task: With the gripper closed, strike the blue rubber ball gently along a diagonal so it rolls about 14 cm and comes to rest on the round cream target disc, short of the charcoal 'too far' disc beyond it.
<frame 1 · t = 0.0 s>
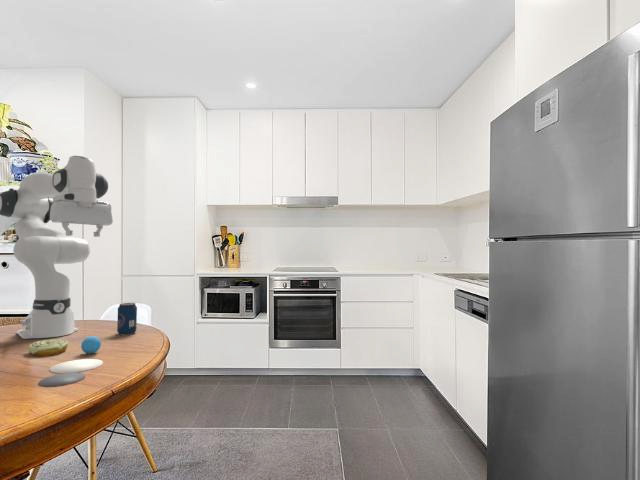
hand: (83, 236, 137), 39 cm above the table, tool pointing down, fingers open, 8 cm apart
soda can: (126, 334, 152), on the table
decorated donut: (48, 353, 123), on the table
target disc: (77, 366, 109), on the table
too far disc: (62, 379, 97), on the table
ball: (91, 345, 122), on the table
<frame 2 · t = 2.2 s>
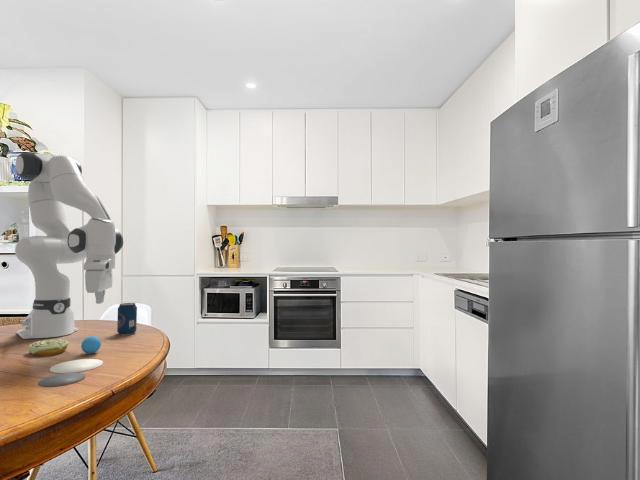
hand: (99, 303, 132), 15 cm above the table, tool pointing down, fingers closed
nothing on the table moved.
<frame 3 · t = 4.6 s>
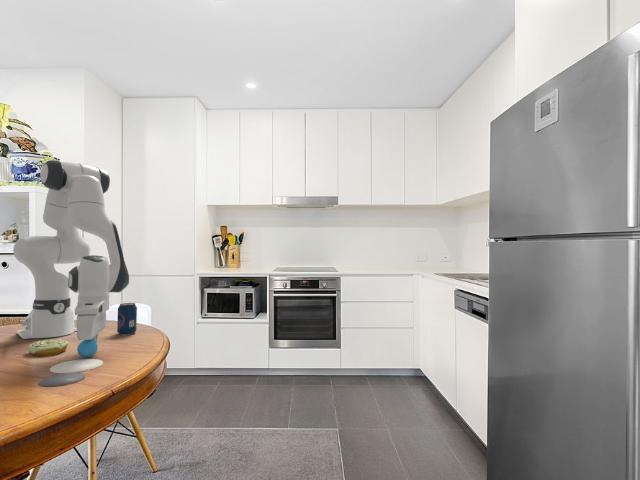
hand: (92, 347, 122), 2 cm above the table, tool pointing down, fingers closed
ball: (87, 348, 118), on the table, touching gripper
everything else where it was.
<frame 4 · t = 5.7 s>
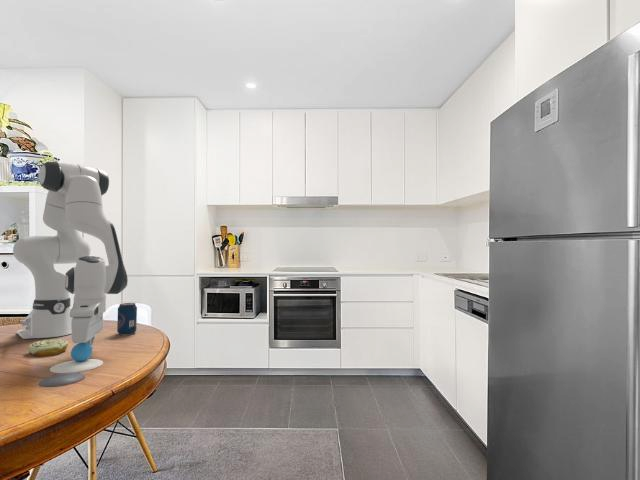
hand: (88, 350, 119), 2 cm above the table, tool pointing down, fingers closed
ball: (81, 352, 114), on the table
everything else where it was.
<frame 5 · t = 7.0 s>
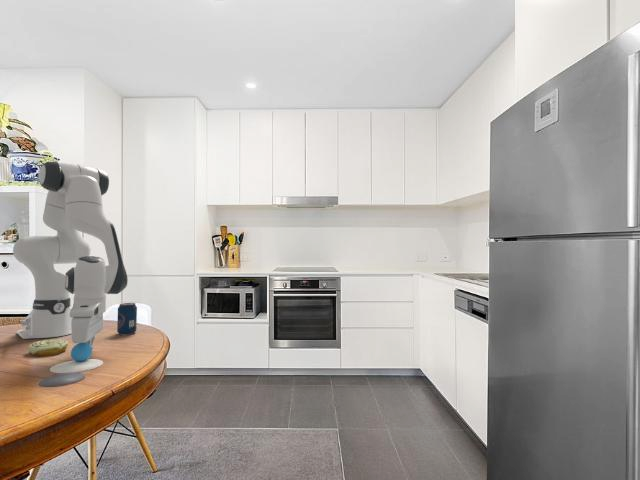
hand: (88, 350, 119), 2 cm above the table, tool pointing down, fingers closed
nothing on the table moved.
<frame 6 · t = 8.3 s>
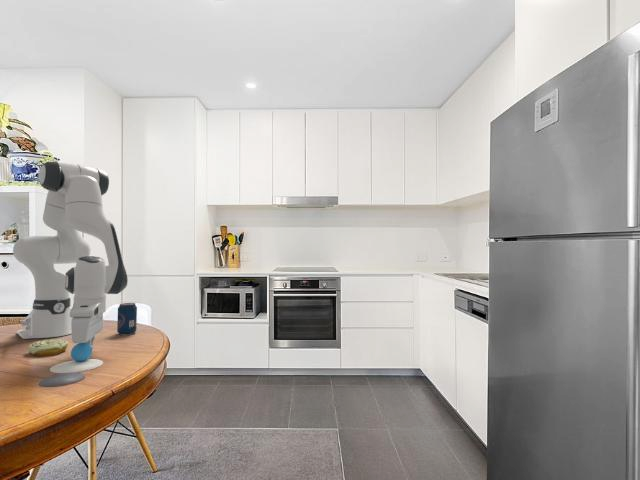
hand: (88, 350, 119), 2 cm above the table, tool pointing down, fingers closed
nothing on the table moved.
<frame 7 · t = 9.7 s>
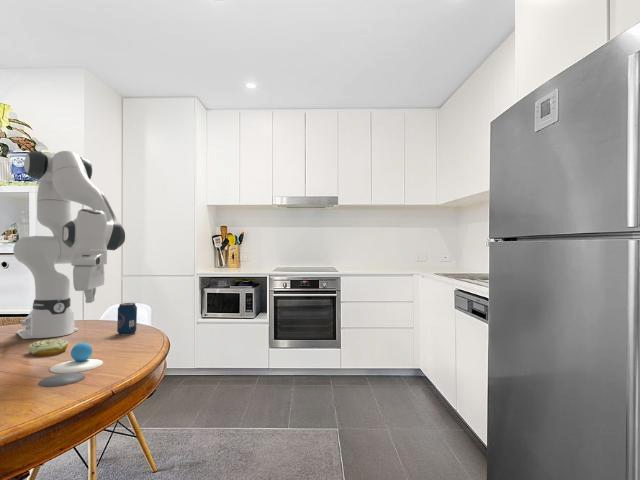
hand: (89, 302, 120), 17 cm above the table, tool pointing down, fingers closed
nothing on the table moved.
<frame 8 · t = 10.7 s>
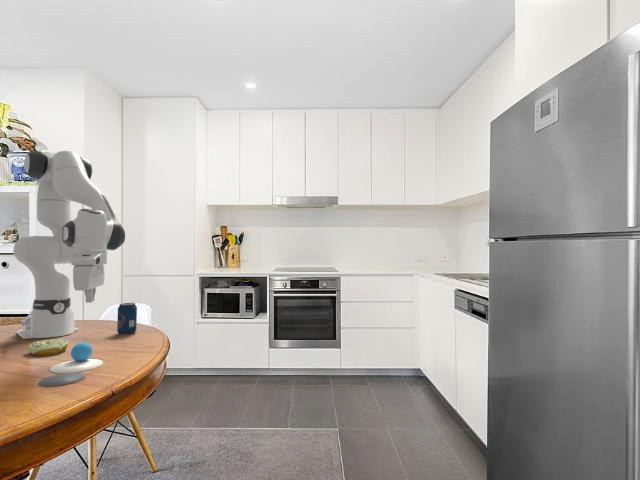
hand: (90, 302, 120), 17 cm above the table, tool pointing down, fingers closed
nothing on the table moved.
at the end: ball 5.2 cm from the target disc (horizontally); ball at rest at the end (0.0 cm/s); ball moved 8.8 cm from its start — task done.
